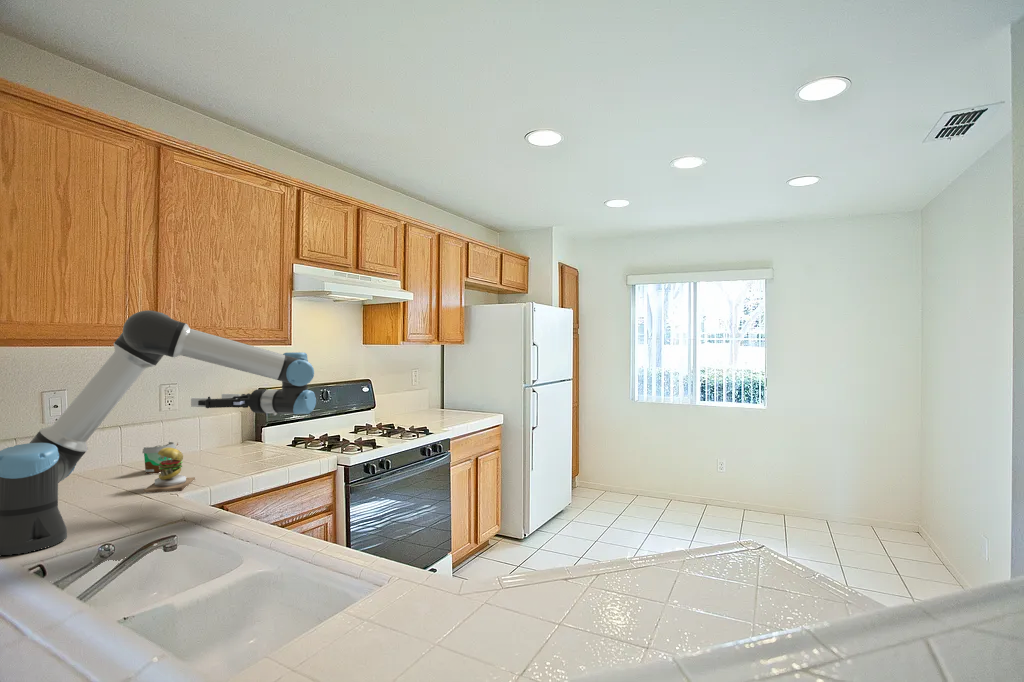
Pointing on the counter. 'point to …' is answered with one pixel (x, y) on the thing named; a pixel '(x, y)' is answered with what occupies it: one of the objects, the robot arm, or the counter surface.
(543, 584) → the counter surface
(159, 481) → the soap dish
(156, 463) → the food container
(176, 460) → the hamburger
